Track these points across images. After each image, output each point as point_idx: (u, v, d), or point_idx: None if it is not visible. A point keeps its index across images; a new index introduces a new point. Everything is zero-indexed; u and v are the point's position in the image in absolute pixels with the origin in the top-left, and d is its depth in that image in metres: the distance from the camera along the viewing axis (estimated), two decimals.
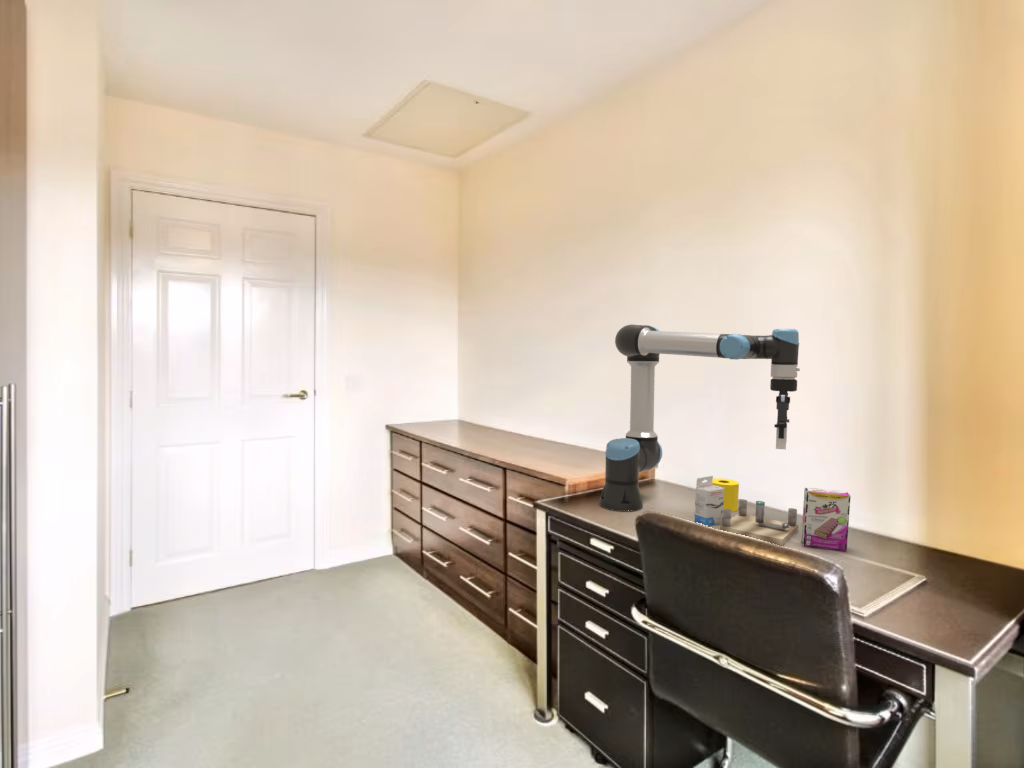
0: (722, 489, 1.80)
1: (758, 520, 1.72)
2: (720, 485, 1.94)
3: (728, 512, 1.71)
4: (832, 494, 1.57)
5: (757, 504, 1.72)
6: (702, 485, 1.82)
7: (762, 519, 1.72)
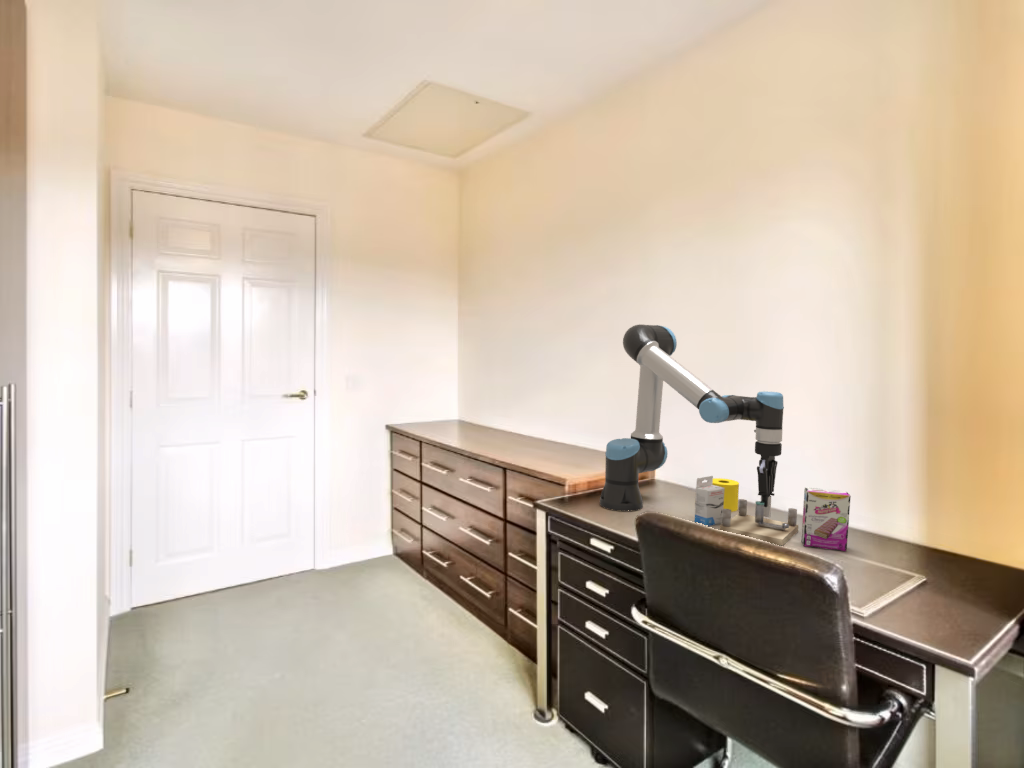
0: (722, 489, 1.80)
1: (758, 521, 1.71)
2: (720, 485, 1.94)
3: (728, 512, 1.71)
4: (833, 494, 1.57)
5: (757, 504, 1.72)
6: (702, 485, 1.82)
7: (762, 519, 1.71)
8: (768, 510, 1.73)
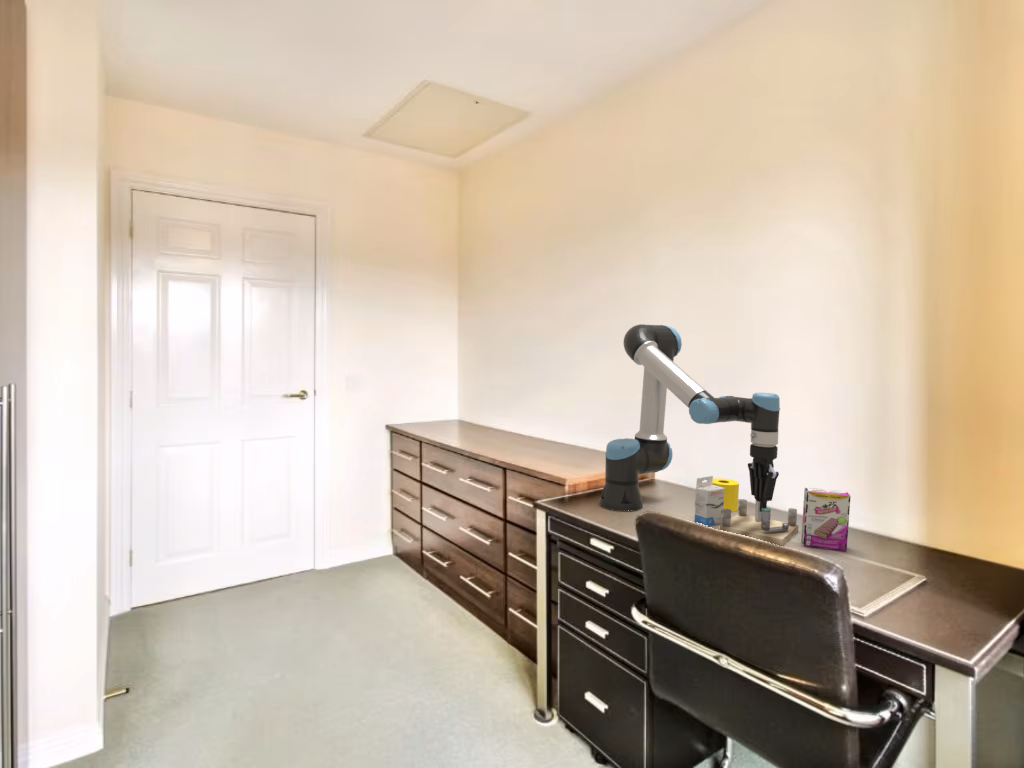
0: (722, 489, 1.80)
1: (768, 528, 1.65)
2: (720, 485, 1.94)
3: (728, 512, 1.71)
4: (833, 494, 1.57)
5: (767, 511, 1.64)
6: (702, 485, 1.82)
7: None
8: None
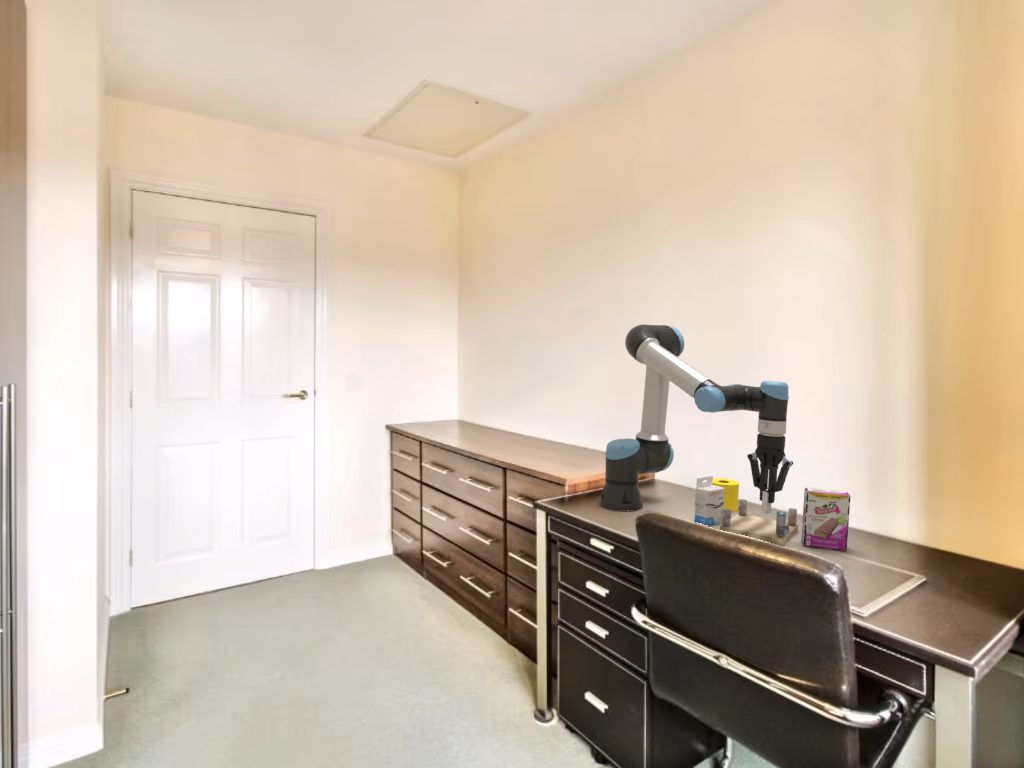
0: (722, 489, 1.80)
1: (784, 532, 1.61)
2: (720, 485, 1.94)
3: (728, 512, 1.71)
4: (832, 494, 1.57)
5: (784, 515, 1.61)
6: (702, 485, 1.82)
7: None
8: (770, 505, 1.65)
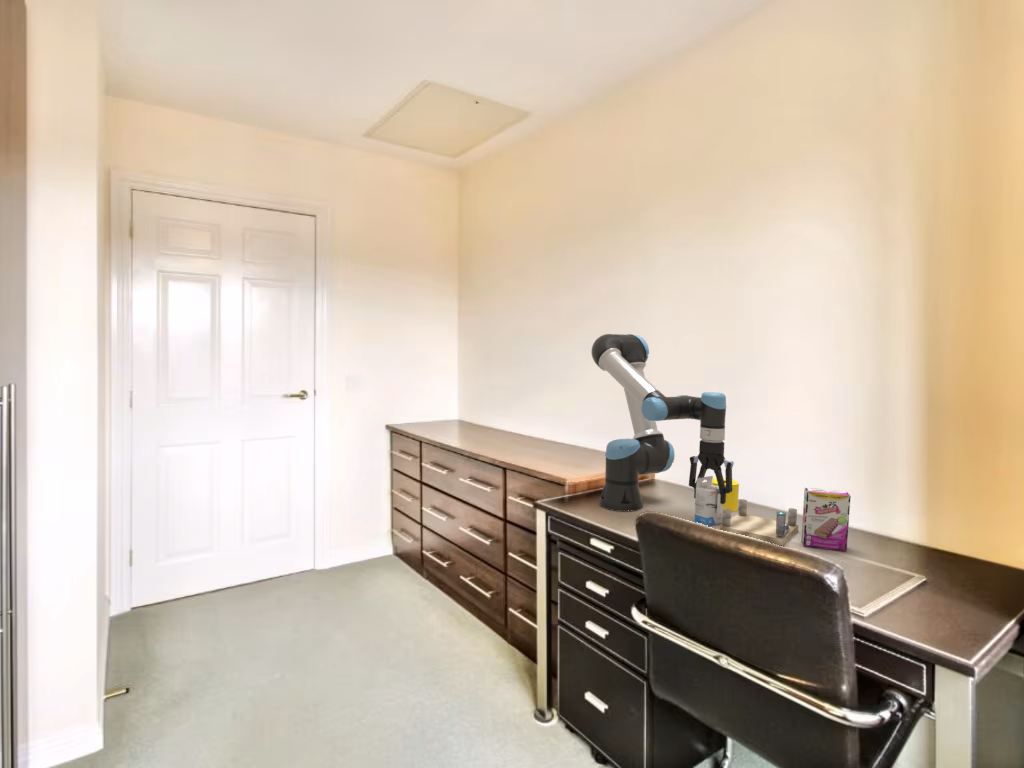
0: None
1: (784, 532, 1.61)
2: None
3: (728, 512, 1.71)
4: (833, 494, 1.57)
5: (784, 515, 1.61)
6: (702, 485, 1.82)
7: None
8: (722, 506, 1.79)
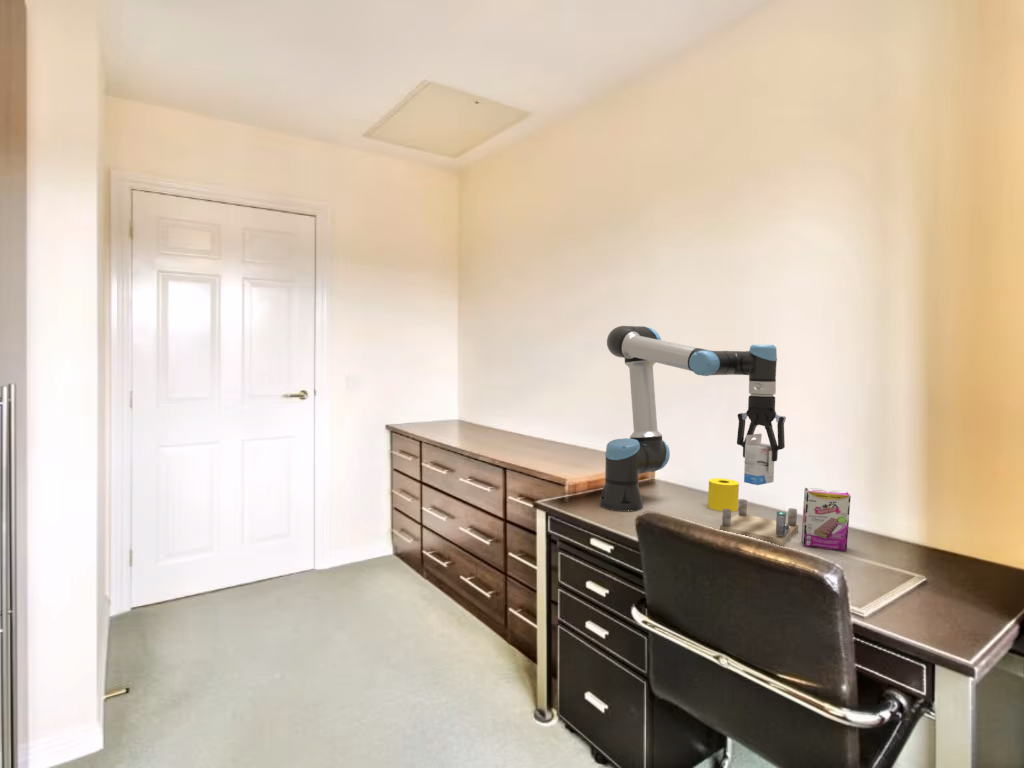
0: None
1: (784, 532, 1.61)
2: (720, 485, 1.94)
3: (728, 512, 1.71)
4: (833, 494, 1.57)
5: (784, 515, 1.61)
6: (751, 443, 1.73)
7: None
8: (773, 464, 1.70)
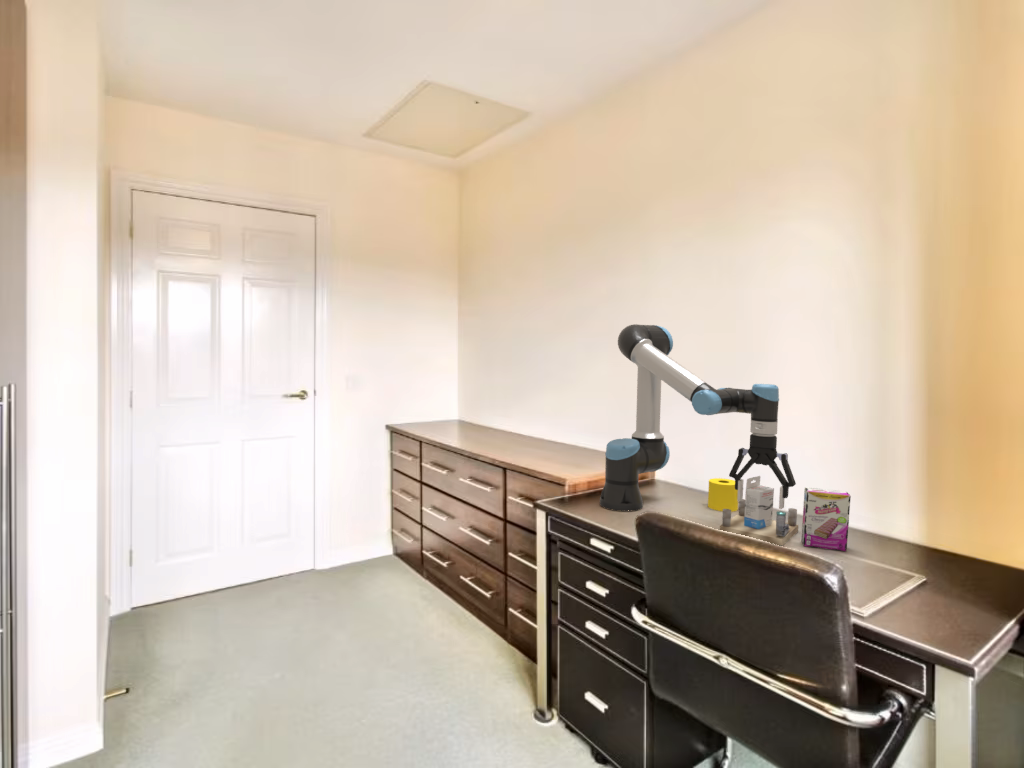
0: (772, 489, 1.72)
1: (784, 532, 1.61)
2: (720, 485, 1.94)
3: (728, 512, 1.71)
4: (833, 494, 1.57)
5: (784, 515, 1.61)
6: (751, 486, 1.73)
7: None
8: None
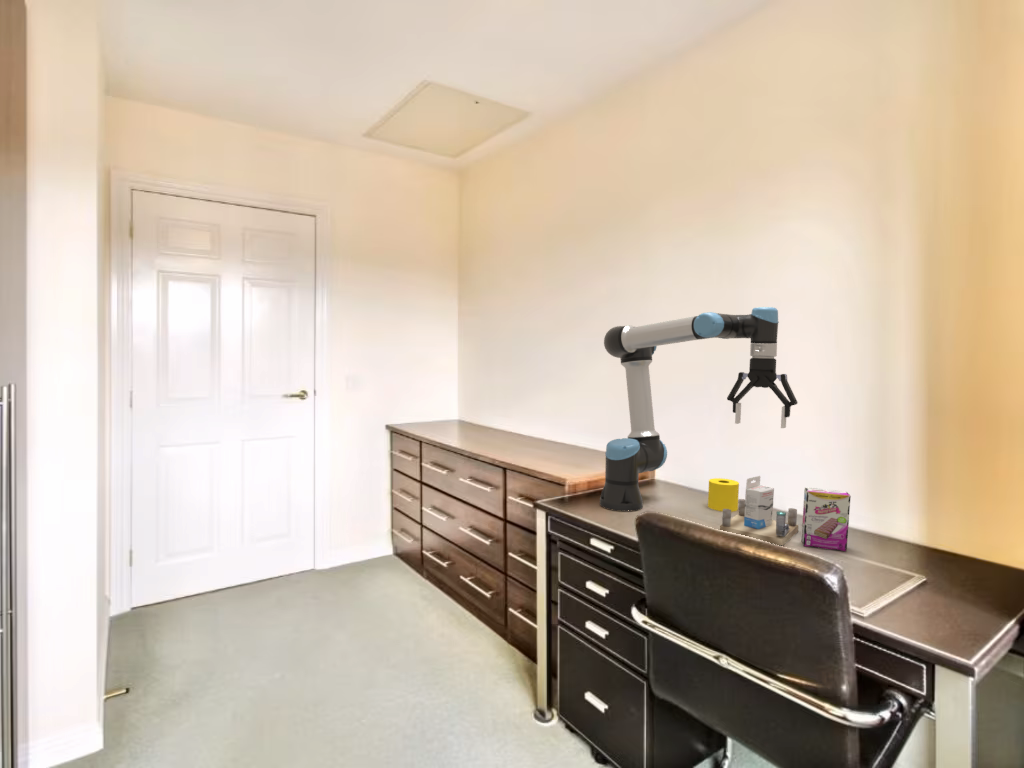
0: (772, 489, 1.72)
1: (784, 532, 1.61)
2: (720, 485, 1.94)
3: (728, 512, 1.71)
4: (833, 494, 1.57)
5: (784, 515, 1.61)
6: (751, 486, 1.73)
7: None
8: None
